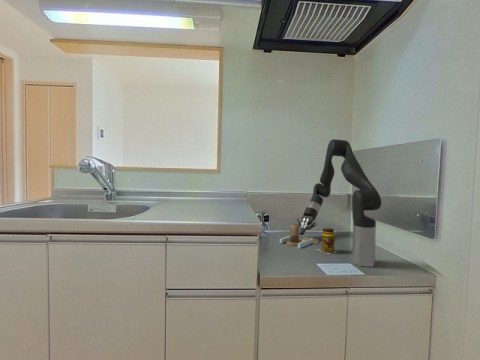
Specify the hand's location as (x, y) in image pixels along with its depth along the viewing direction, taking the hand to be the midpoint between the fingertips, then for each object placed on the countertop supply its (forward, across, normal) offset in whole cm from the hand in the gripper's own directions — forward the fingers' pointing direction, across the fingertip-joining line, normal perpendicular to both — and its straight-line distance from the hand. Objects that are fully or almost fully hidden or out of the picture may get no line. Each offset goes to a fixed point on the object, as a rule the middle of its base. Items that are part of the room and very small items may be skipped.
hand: (300, 234), depth 158 cm
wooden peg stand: (+8, 0, -1) cm, 8 cm away
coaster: (0, +4, +6) cm, 7 cm away
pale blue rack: (+6, 0, 0) cm, 6 cm away
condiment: (+7, +19, -1) cm, 20 cm away
